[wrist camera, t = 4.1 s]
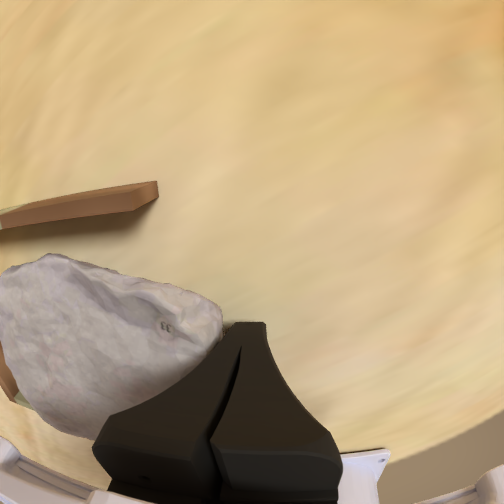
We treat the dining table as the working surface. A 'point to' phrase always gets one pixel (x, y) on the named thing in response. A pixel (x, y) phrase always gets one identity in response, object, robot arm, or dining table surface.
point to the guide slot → (65, 209)
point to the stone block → (98, 339)
